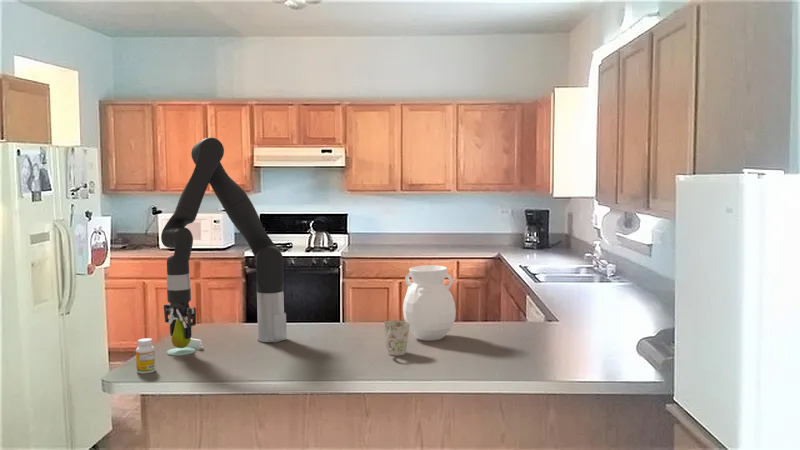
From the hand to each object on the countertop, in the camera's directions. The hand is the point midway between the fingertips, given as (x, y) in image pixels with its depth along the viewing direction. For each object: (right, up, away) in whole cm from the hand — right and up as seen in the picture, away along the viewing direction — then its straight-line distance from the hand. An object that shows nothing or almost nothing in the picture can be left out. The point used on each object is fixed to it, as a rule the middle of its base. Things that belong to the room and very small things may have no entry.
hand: (180, 337), depth 250 cm
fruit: (0, -4, 0) cm, 4 cm away
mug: (+71, -5, -6) cm, 71 cm away
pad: (0, -5, 0) cm, 5 cm away
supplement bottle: (-4, -7, -22) cm, 24 cm away
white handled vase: (+83, -3, +17) cm, 85 cm away
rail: (+1, -5, +7) cm, 9 cm away
